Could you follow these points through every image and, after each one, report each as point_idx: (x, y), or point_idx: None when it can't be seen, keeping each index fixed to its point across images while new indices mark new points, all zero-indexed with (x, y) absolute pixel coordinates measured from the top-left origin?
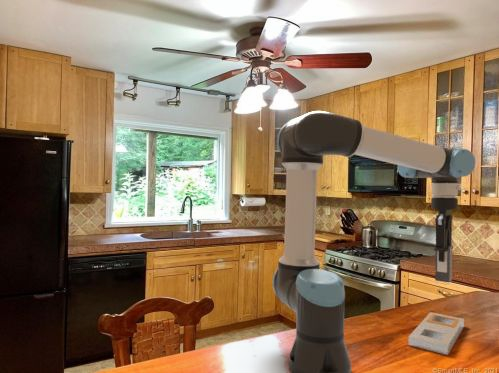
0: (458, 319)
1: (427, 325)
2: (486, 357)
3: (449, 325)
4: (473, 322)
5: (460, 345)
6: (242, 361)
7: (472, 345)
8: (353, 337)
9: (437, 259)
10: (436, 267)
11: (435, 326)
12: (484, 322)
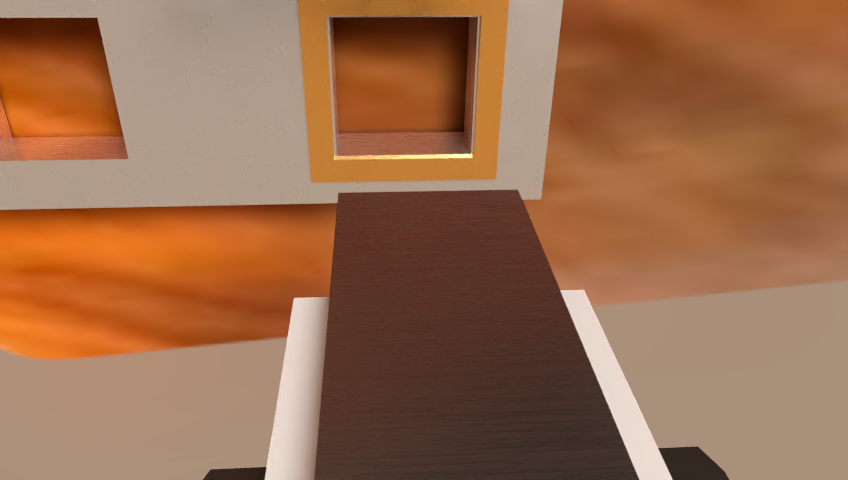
0: (489, 177)
1: (195, 17)
2: (123, 326)
3: (310, 152)
4: (666, 203)
5: (183, 208)
6: None
7: (238, 255)
8: None
9: (272, 457)
10: (329, 316)
11: (223, 72)
12: (700, 251)
